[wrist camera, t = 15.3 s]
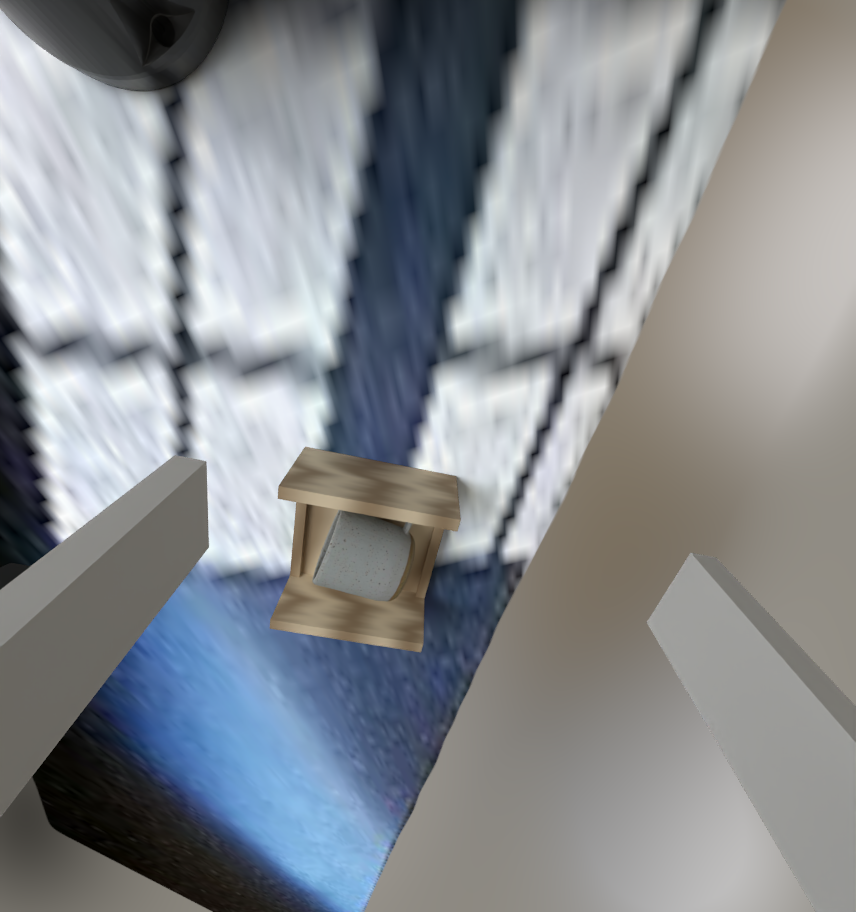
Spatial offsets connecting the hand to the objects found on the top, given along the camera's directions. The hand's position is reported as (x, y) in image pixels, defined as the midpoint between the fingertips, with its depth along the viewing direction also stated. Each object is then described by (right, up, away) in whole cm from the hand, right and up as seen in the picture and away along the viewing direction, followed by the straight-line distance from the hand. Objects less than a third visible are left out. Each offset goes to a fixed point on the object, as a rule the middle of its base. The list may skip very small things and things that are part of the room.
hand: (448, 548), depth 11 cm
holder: (-7, -5, +32) cm, 33 cm away
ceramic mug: (-6, -4, +31) cm, 32 cm away
